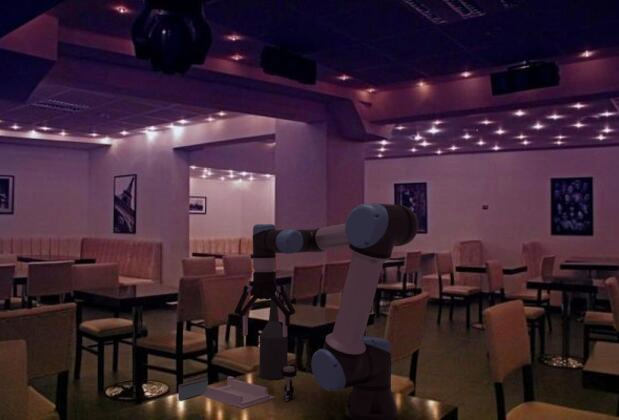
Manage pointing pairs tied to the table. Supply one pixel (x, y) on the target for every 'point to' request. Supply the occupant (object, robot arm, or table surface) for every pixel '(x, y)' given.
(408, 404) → the table surface
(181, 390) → the dark slender plank
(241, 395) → the tray
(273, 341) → the bottle
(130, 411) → the table surface
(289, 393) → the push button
